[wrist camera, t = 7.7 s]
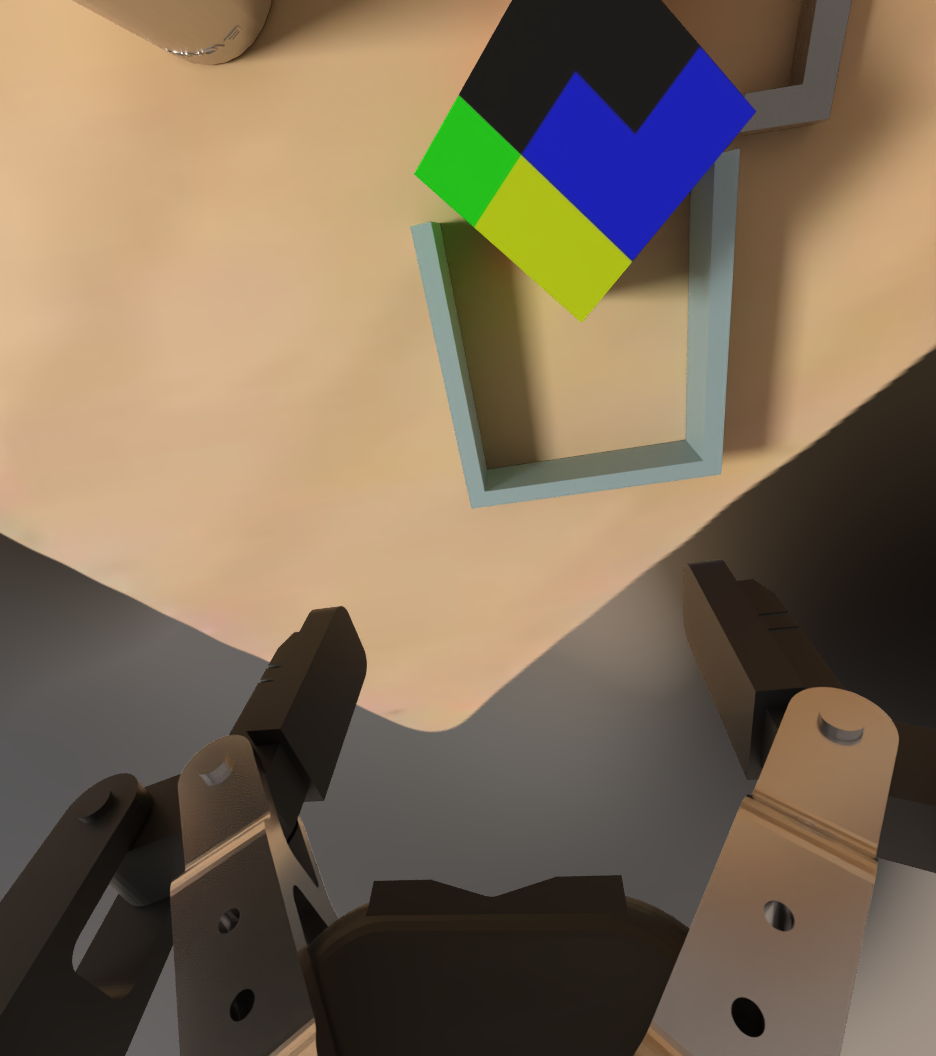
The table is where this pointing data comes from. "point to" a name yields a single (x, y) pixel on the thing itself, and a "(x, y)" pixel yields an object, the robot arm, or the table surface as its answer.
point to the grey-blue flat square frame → (704, 367)
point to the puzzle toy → (582, 138)
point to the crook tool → (805, 72)
